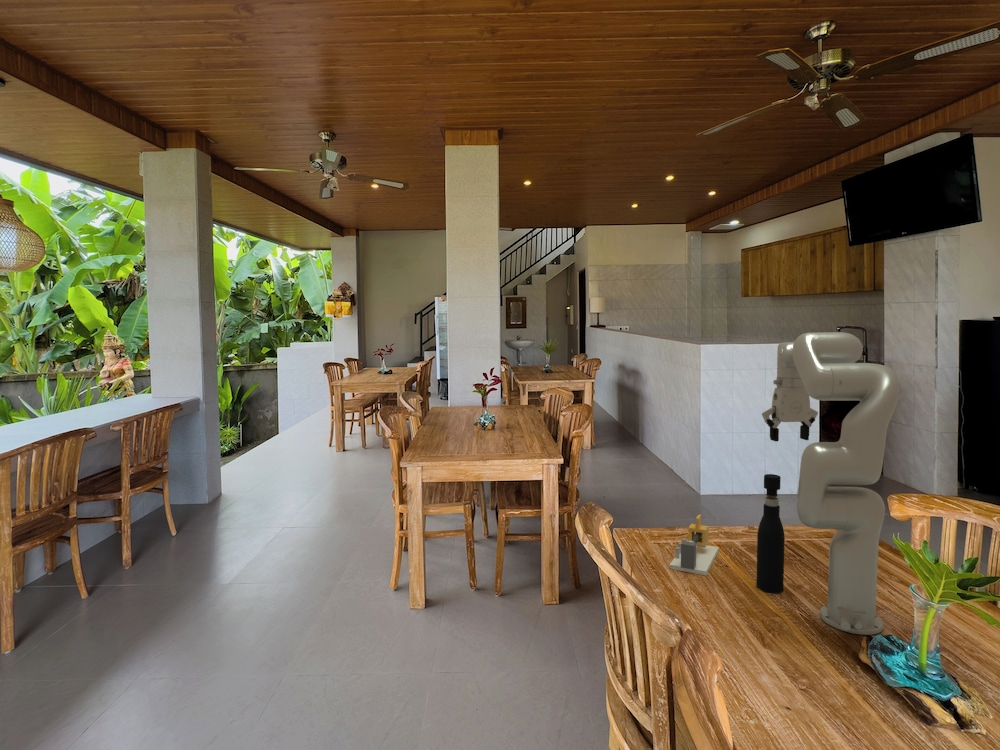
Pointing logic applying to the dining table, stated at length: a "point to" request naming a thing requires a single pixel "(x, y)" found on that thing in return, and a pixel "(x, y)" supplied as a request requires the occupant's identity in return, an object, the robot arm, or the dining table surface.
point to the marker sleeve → (700, 529)
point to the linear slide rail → (694, 556)
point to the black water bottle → (770, 541)
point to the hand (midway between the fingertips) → (789, 440)
